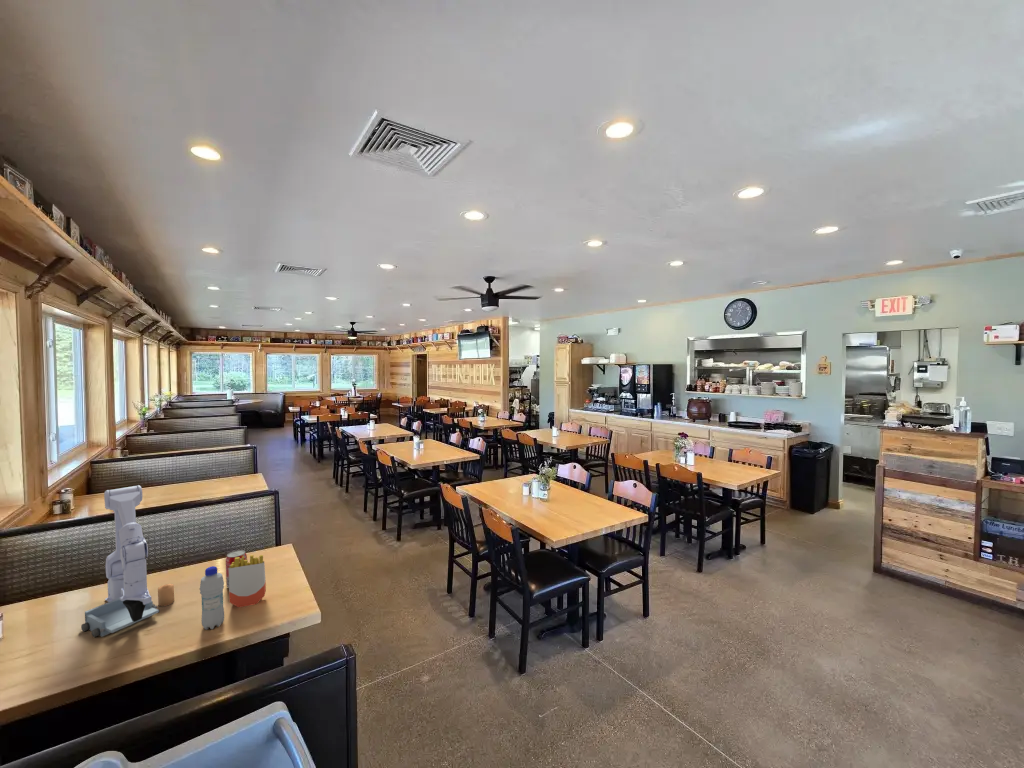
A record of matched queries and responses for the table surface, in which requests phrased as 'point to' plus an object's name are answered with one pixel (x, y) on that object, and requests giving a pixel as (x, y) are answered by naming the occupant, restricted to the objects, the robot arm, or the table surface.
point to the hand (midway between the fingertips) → (137, 619)
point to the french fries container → (247, 581)
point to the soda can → (231, 559)
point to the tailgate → (130, 621)
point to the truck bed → (107, 616)
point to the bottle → (212, 598)
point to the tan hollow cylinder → (166, 595)
